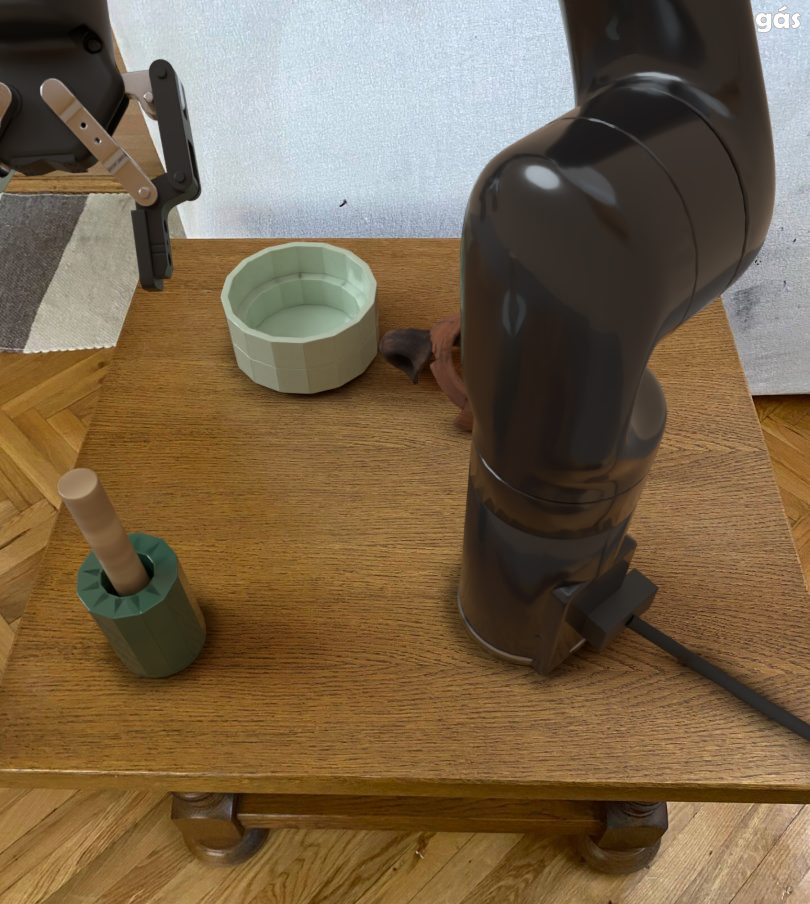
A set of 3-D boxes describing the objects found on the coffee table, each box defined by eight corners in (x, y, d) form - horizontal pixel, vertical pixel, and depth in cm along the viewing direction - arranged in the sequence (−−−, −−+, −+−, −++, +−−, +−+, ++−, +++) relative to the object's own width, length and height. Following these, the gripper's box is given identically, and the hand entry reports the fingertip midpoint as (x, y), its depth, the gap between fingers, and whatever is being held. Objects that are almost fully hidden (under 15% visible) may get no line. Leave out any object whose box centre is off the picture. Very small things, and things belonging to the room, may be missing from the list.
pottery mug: (510, 343, 71) (548, 306, 63) (502, 450, 69) (541, 426, 61) (373, 319, 68) (395, 277, 60) (363, 430, 67) (384, 401, 59)
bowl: (408, 351, 70) (407, 293, 65) (292, 421, 65) (281, 365, 60) (320, 281, 75) (314, 223, 70) (207, 342, 70) (192, 285, 65)
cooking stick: (181, 635, 54) (105, 484, 41) (155, 653, 53) (68, 505, 40) (165, 615, 55) (85, 461, 42) (139, 633, 54) (49, 481, 41)
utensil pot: (223, 641, 54) (196, 577, 48) (146, 695, 52) (107, 636, 45) (176, 585, 57) (145, 516, 50) (101, 634, 55) (58, 569, 48)
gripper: (-188, -94, 35) (-114, 298, 38) (148, -111, 36) (195, 276, 39) (-94, -10, 42) (-38, 313, 45) (184, -26, 43) (220, 294, 46)
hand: (69, 296), depth 42 cm, fingers open, 8 cm apart
